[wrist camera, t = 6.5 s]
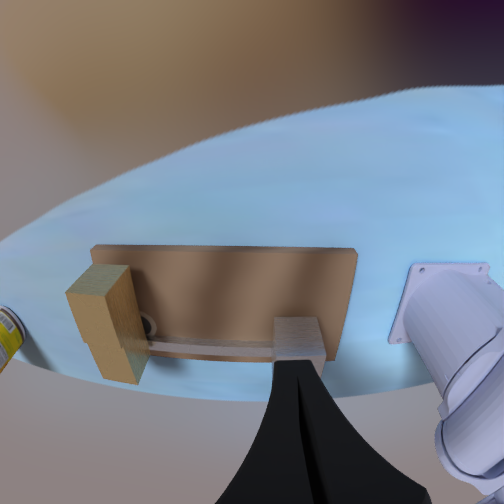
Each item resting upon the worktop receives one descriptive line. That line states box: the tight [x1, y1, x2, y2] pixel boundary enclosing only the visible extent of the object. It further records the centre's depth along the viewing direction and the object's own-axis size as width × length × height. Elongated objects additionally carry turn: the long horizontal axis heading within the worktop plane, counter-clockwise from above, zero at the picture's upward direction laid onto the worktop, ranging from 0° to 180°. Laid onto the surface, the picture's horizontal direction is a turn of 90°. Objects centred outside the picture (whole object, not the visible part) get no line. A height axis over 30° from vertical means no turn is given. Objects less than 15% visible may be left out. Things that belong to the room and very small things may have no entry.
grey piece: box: [146, 317, 326, 380], centre depth 19 cm, size 16×4×5 cm, turn 90°
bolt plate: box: [90, 245, 358, 362], centre depth 21 cm, size 19×10×1 cm, turn 90°
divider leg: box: [65, 264, 151, 385], centre depth 18 cm, size 3×8×5 cm, turn 0°
